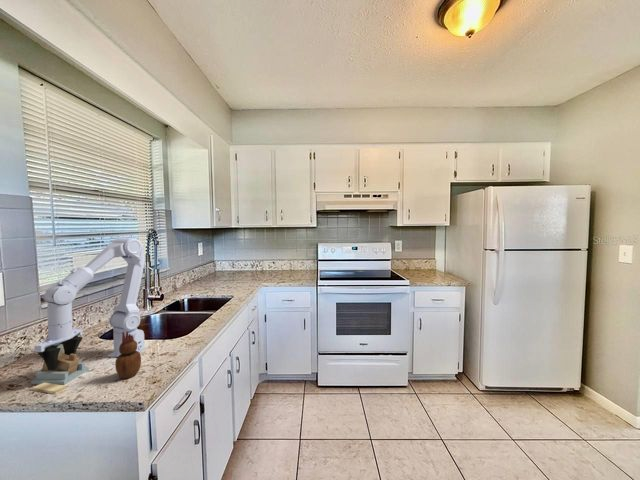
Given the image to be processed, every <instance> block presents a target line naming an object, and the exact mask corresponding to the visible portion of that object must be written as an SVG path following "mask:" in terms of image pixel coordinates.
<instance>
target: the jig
mask: <svg viewBox="0 0 640 480" xmlns="http://www.w3.org/2000/svg"><path fill="white" fill-rule="evenodd" d="M89 368H90V367H88V366H86V362H82V361H79V362H78V366H77V370H76V372H74V373H72V374H70V375H69V376H68V372H52V371H43V370H42V369H40V370H38V371H37V372H36V373H35V379H33V380H31V385H40V384H42V383H44V382H45V383H51V384H57V385H63V386H65V385H66V384H68V383H69V382H71V381H73V380H74V379H76V378H79V376H81V375H83V374H84V373H86V372H88V371H89V370H90V369H89Z"/></svg>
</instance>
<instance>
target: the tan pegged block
mask: <svg viewBox="0 0 640 480" xmlns="http://www.w3.org/2000/svg"><path fill="white" fill-rule="evenodd" d="M78 362H80V357H77V354H76V353H75V354H73V353H72V354H70V355H66V354H62V353H59V355H58V362H57V369H55V370H48V368H47V365H46V363H45V361H44V360H43V364H42V369H41V370H43V371H52V372H68V376H69V375H70V374H72V373H74V372H76V370H77V366H78Z"/></svg>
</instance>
